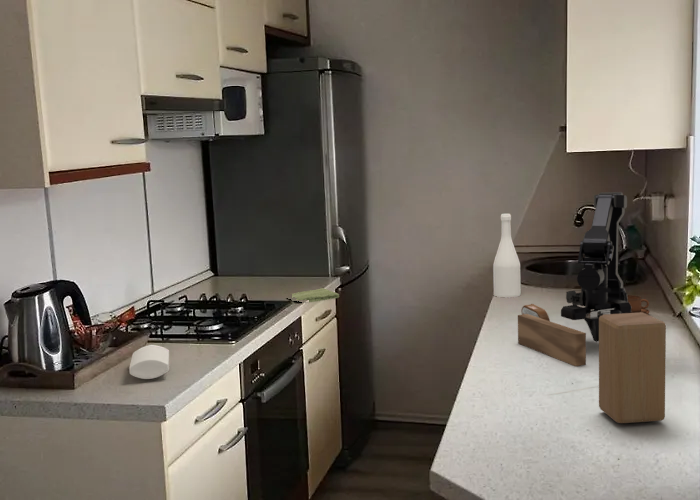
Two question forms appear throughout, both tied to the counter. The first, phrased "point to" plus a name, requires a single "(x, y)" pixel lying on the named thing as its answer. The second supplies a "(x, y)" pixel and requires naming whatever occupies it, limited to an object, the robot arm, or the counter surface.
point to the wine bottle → (506, 264)
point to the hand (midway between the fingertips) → (596, 341)
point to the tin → (535, 311)
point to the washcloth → (315, 295)
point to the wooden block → (632, 367)
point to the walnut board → (552, 339)
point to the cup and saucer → (637, 304)
